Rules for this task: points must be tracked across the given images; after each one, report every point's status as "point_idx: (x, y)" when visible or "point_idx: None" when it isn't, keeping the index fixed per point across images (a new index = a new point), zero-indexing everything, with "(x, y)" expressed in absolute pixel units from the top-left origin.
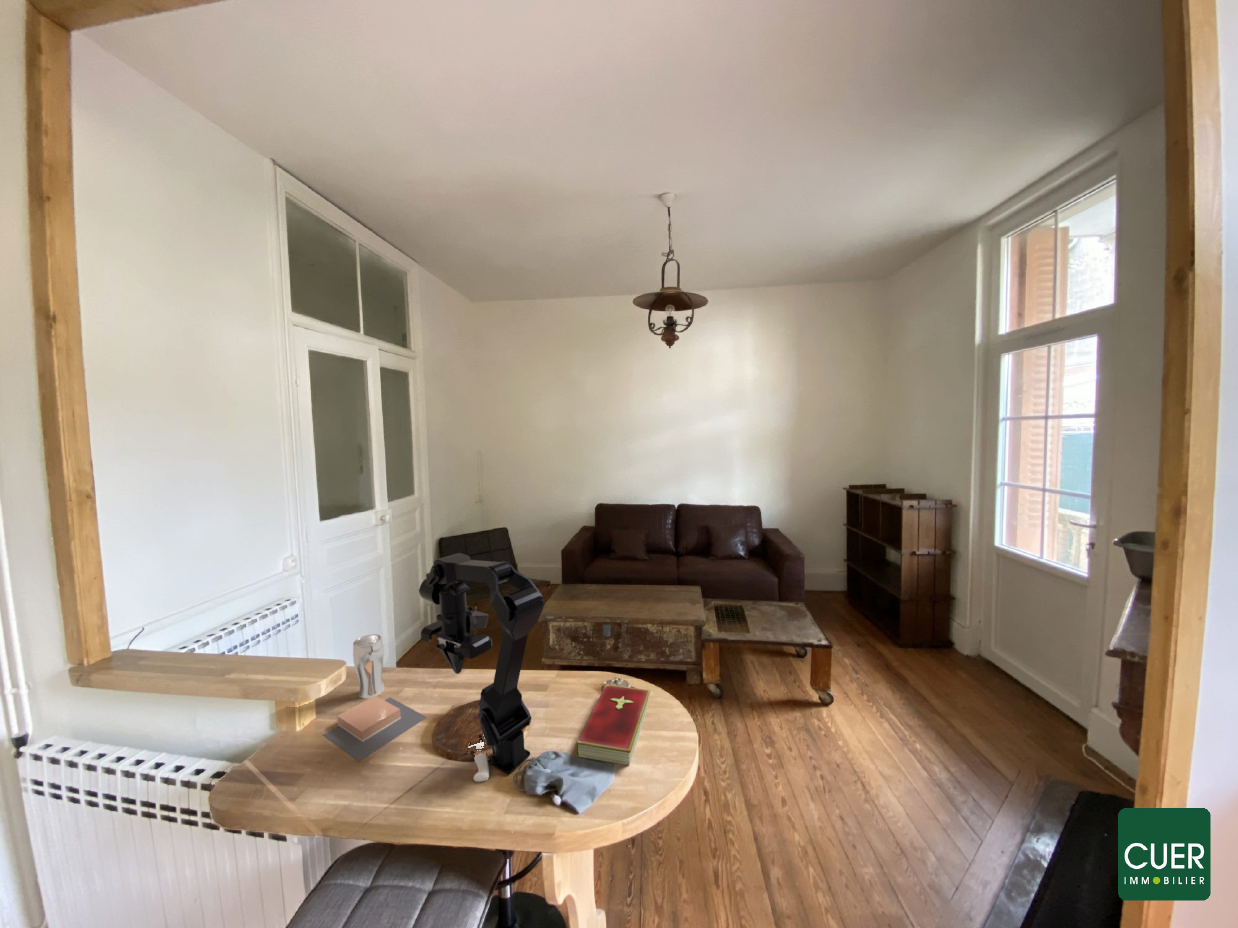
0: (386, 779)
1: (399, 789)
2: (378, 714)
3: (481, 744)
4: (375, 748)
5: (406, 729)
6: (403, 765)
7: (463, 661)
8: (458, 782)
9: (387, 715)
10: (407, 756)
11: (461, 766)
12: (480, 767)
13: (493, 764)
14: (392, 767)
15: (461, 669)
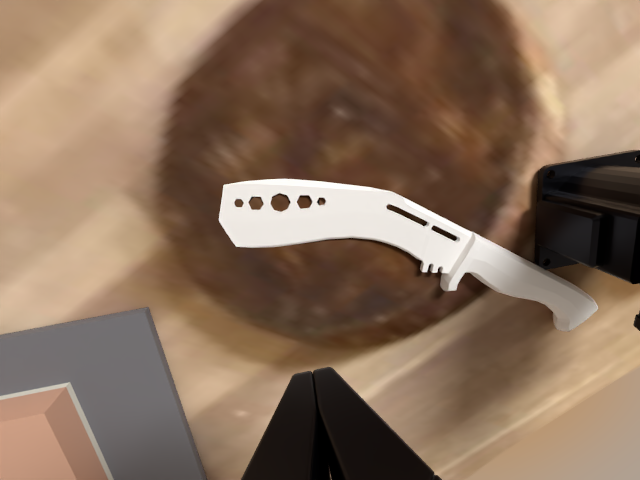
0: None
1: None
2: (21, 477)
3: (480, 252)
4: (189, 472)
5: (163, 386)
6: None
7: (408, 452)
8: (514, 351)
9: (58, 456)
10: None
11: (473, 322)
12: (563, 308)
13: (569, 264)
14: None
15: (342, 380)
